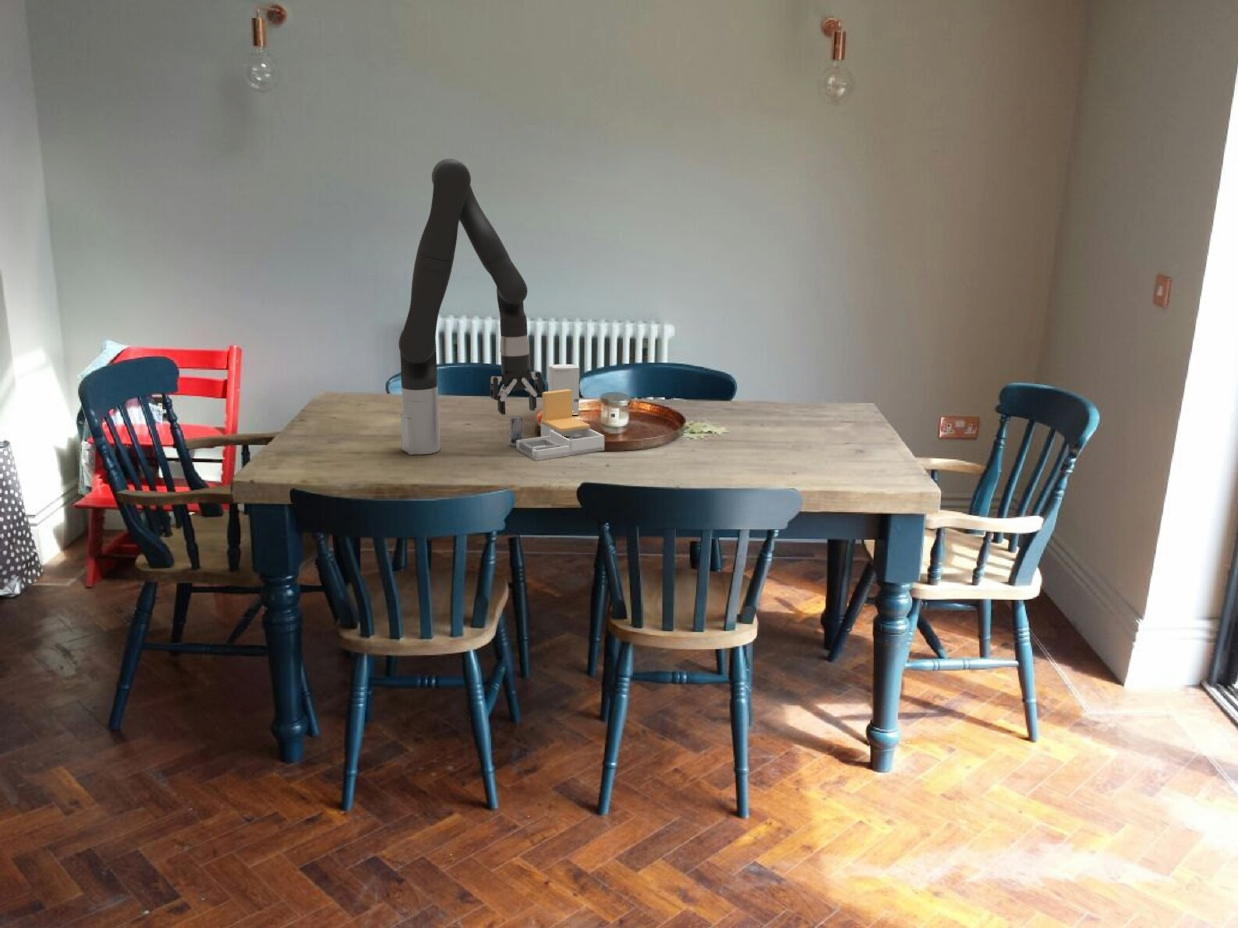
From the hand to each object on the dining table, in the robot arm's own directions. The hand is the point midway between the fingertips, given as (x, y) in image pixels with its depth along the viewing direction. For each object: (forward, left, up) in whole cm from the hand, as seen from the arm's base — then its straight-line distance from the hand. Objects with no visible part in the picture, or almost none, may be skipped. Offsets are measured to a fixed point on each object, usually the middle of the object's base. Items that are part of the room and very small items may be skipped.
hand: (517, 412), depth 301 cm
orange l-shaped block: (+13, -2, -5) cm, 14 cm away
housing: (+8, -6, -9) cm, 13 cm away
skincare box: (+26, +24, -9) cm, 37 cm away
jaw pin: (0, 0, -9) cm, 9 cm away
